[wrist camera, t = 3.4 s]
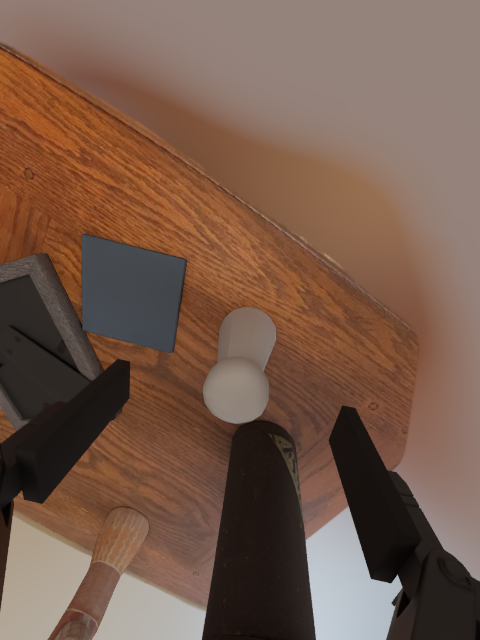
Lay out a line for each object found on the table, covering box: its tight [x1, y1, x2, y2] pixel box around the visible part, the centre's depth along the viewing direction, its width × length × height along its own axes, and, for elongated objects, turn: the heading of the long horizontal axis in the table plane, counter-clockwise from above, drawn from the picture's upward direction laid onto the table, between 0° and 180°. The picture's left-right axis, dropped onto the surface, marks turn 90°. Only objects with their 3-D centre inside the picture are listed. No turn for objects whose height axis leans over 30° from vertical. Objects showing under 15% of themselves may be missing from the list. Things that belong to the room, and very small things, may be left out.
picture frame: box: [0, 254, 122, 431], centre depth 30 cm, size 16×2×21 cm
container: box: [202, 422, 316, 640], centre depth 23 cm, size 9×9×20 cm
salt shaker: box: [203, 307, 276, 424], centre depth 21 cm, size 6×6×13 cm
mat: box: [82, 234, 187, 353], centre depth 27 cm, size 11×11×1 cm
